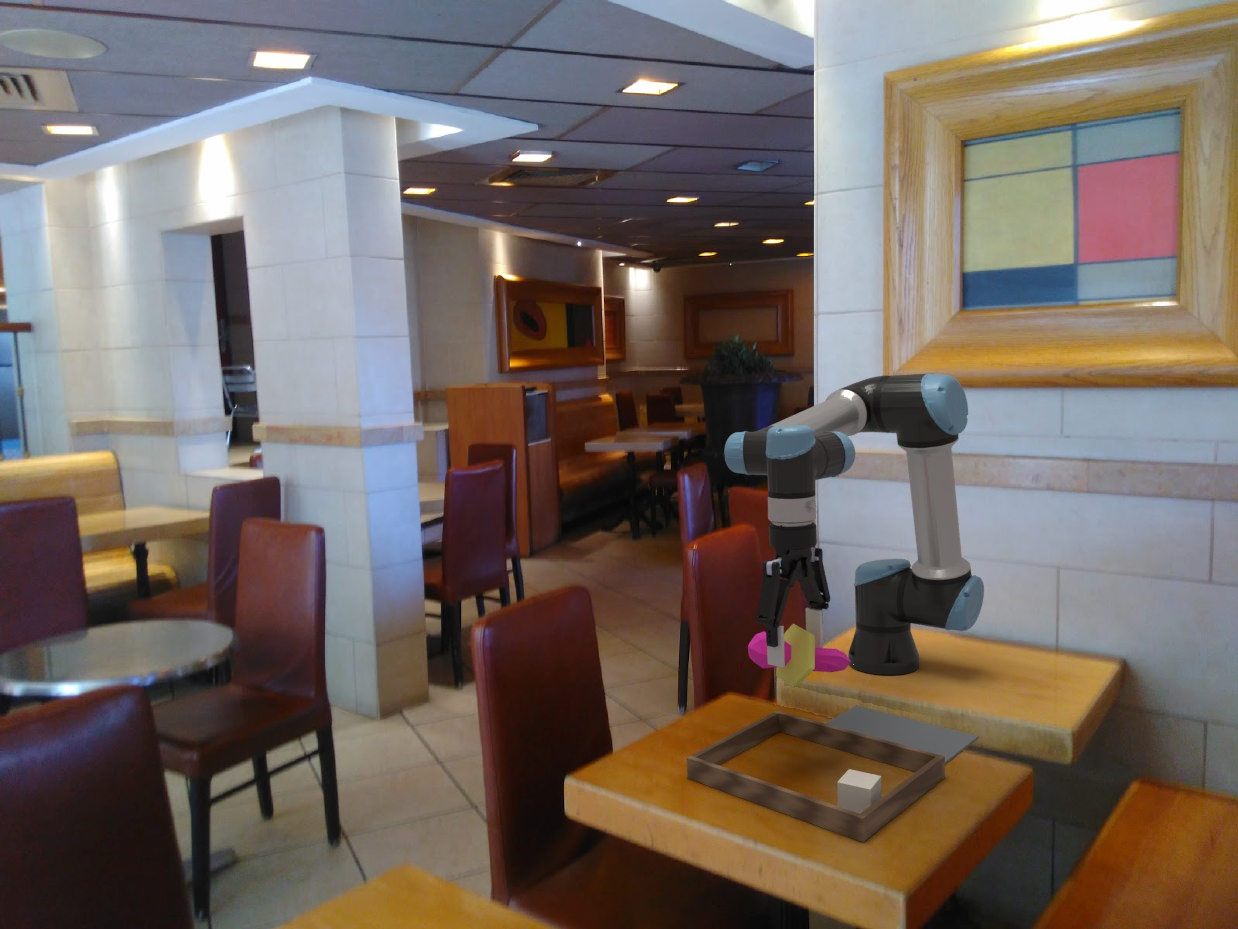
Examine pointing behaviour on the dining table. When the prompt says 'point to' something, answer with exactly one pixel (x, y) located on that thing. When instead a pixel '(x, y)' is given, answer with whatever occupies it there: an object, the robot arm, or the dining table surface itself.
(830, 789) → the dining table surface
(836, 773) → the dining table surface
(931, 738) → the mat
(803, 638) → the toy
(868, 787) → the cream block
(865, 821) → the brown wooden frame
